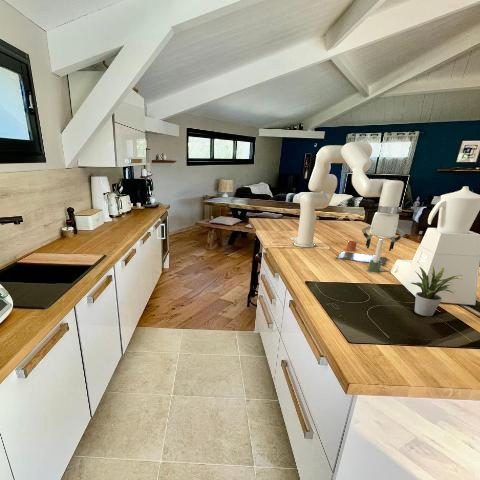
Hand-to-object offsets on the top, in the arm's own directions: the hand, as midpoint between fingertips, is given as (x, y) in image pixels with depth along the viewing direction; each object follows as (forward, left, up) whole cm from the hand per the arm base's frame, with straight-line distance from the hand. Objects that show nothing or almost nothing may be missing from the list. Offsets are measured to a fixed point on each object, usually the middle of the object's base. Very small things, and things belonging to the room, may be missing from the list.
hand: (378, 248), depth 143 cm
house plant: (+20, -41, -11) cm, 47 cm away
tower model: (-3, +90, -11) cm, 91 cm away
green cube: (0, 0, -11) cm, 11 cm away
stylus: (0, 0, -11) cm, 11 cm away
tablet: (-8, +20, -11) cm, 24 cm away
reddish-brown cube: (-16, +38, -11) cm, 43 cm away
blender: (+20, -11, -11) cm, 25 cm away
